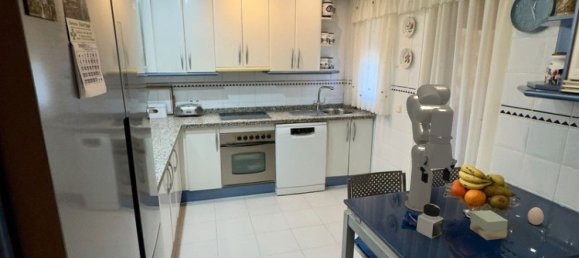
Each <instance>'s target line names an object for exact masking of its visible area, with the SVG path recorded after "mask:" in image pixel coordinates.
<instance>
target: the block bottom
mask: <svg viewBox="0 0 579 258" xmlns="http://www.w3.org/2000/svg"><path fill="white" fill-rule="evenodd" d="M469 228H470V231H471V230H472V231H473V232H475V233H476V234H477V235H479V236H480V237H482V238H483V239H484V240H486V241H491V240H500V239H506V238H507V236H508V229H506V230H497V231H485V230H484V229H482V228H481V227H479V226H478V225H476V224H475V223H473V222H472V221H470V225H469Z"/></svg>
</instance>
